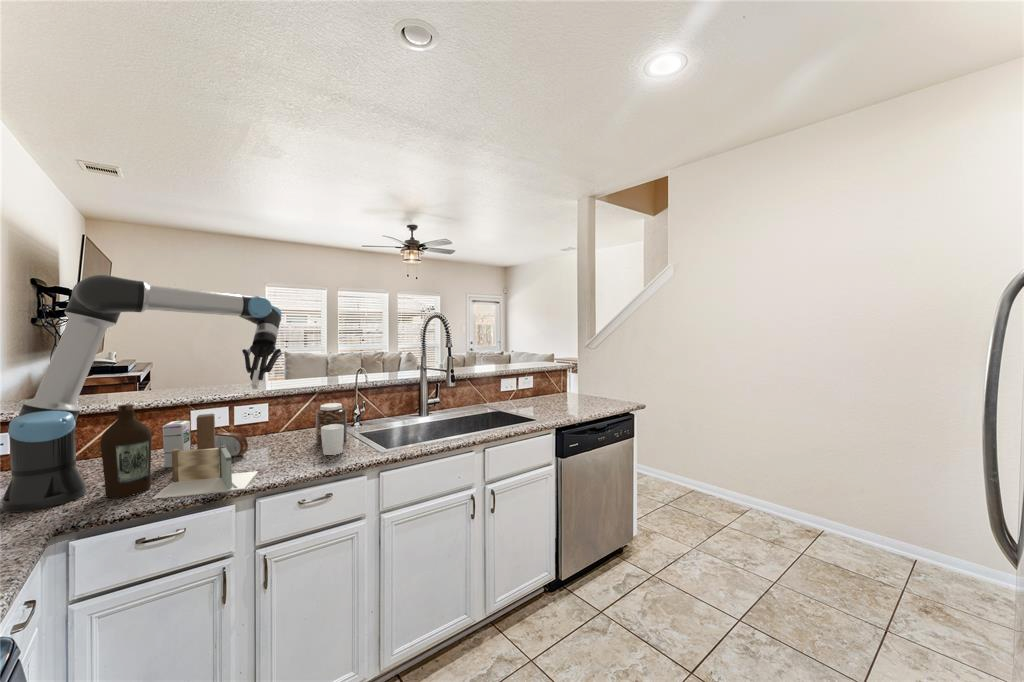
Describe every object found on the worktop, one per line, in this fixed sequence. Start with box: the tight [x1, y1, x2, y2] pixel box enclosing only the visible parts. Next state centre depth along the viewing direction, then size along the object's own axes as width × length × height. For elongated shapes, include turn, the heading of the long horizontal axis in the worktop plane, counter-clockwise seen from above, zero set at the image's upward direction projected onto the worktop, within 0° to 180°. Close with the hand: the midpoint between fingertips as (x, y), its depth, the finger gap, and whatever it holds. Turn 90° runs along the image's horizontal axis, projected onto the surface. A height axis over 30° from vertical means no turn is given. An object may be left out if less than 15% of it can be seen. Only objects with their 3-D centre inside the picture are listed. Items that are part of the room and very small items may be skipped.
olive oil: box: [100, 403, 153, 499], centre depth 117 cm, size 11×11×25 cm
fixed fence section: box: [171, 445, 226, 482], centre depth 126 cm, size 14×2×10 cm, turn 108°
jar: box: [315, 402, 348, 446], centre depth 168 cm, size 12×12×15 cm
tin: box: [215, 430, 249, 458], centre depth 149 cm, size 15×3×8 cm, turn 76°
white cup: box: [321, 424, 344, 456], centre depth 152 cm, size 8×8×10 cm
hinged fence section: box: [221, 447, 233, 489], centre depth 122 cm, size 12×1×9 cm, turn 42°
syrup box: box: [162, 420, 192, 468], centre depth 140 cm, size 6×6×14 cm
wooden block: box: [196, 413, 216, 450], centre depth 134 cm, size 9×4×18 cm, turn 123°
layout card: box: [151, 470, 259, 500], centre depth 122 cm, size 22×14×1 cm, turn 108°
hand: (254, 386), depth 143 cm, fingers closed
